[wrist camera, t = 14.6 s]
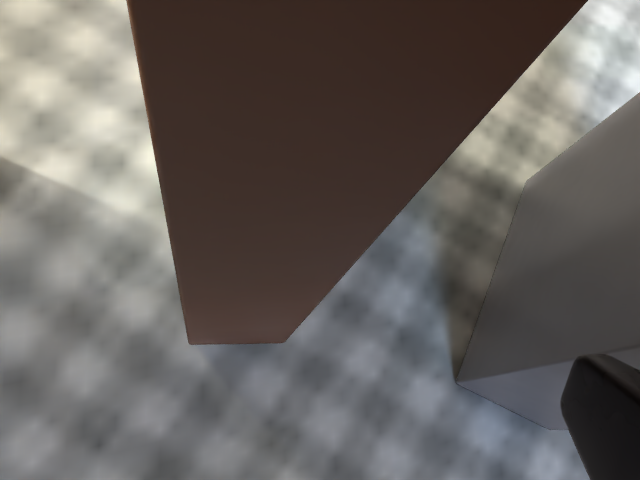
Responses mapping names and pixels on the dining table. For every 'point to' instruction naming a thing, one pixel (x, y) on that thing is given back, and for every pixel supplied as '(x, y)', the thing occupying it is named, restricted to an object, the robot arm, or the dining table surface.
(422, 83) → the tan rectangular block
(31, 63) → the dining table surface
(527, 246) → the grey bookends
